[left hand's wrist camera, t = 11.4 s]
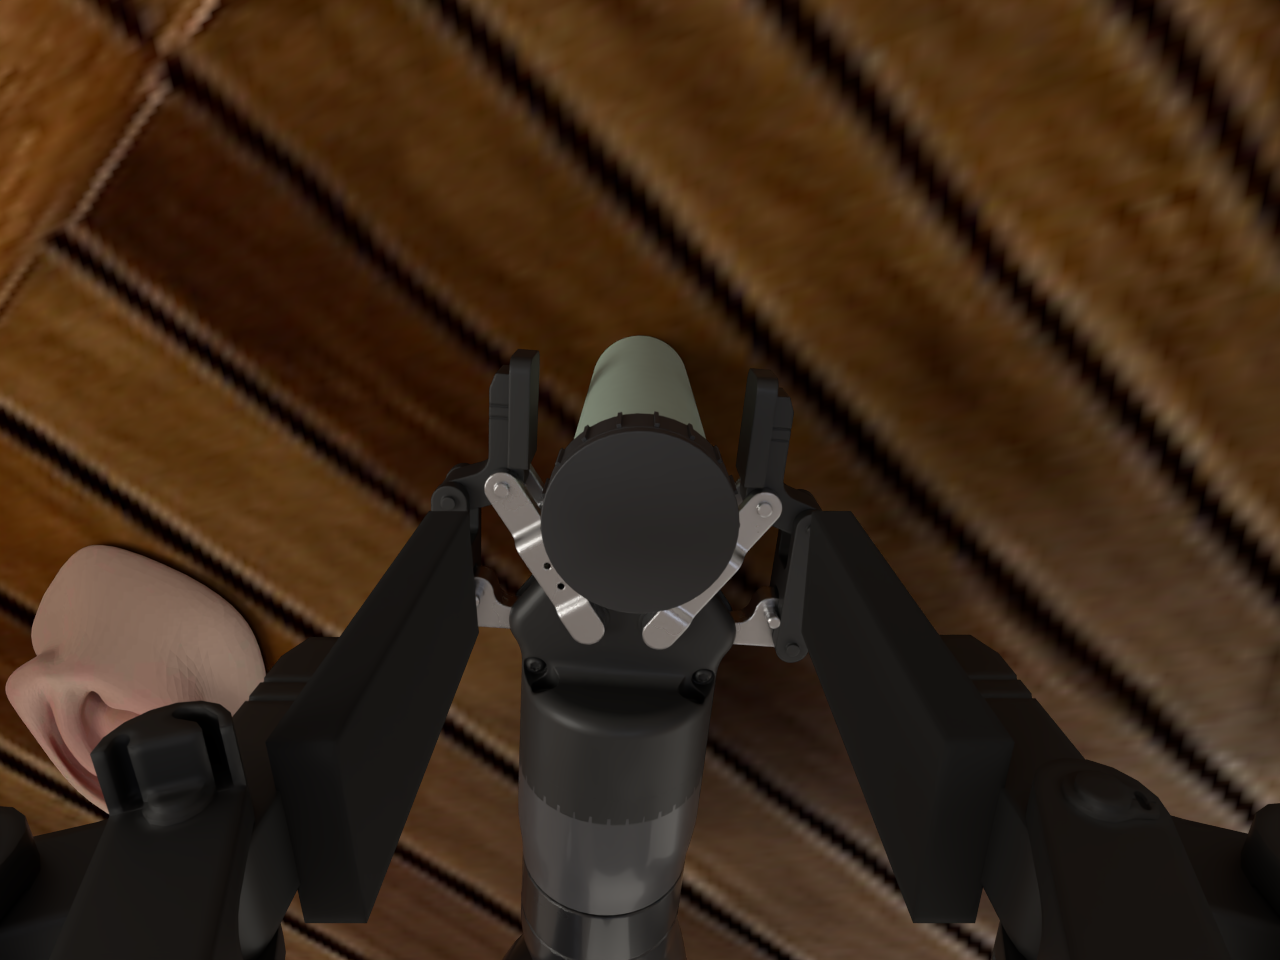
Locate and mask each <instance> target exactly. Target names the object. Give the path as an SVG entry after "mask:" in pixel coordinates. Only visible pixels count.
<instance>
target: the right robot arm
mask: <svg viewBox="0 0 1280 960" xmlns="http://www.w3.org/2000/svg"><path fill="white" fill-rule="evenodd" d="M538 392H539V351H538V350H525V349H518V350H517V351H516V352H515V353H514V354H513V355H512V357H511V360H510V365H503V366H502V367H501V368H500V369H499V370H498V371H497V373H496V374H495V376H494V379H493V381H492V383H491V386H490V388H489V404H490V406H489V416H490V417H489V458H488V459H487V460H485V461H482V462H479V463H475V464H468V463H460V464H457V465H455V466H454V467H453V468H452V469H451V470H450V471H449V473H448V474H447V477H446V479H445V480H444V482H443V483H442V484H441V485H440V486H438V488H437V489H436V490H435V492H434V493H433V495H432V498H431V511H468V516H469V527H470V538H471V550H472V561H473V572H474V584H475V595H476V606H477V617H478V626H481V627H496V628H510V629H511V632H512V633H513V635H514V637H515V638H516V640H517V642H518V644H519V646H520V649H521V653H522V682H521V717H520V753H519V791H518V807H519V820H520V827H521V833H522V840H523V864H522V892H521V919H522V927H523V935H521V936H520V937H519V938H518V939H517V940H516V941H515V943H514V944H513V945H512V946H511V947H510V949H509V950H508V952H507V953H506V955H505V956H504V958H503V960H687V958H686V954H685V948H684V943H683V938H682V933H681V929H680V926H679V922H678V919H677V913H678V907H679V900H680V893H681V885H682V878H683V870H684V863H685V857H686V852H687V850H688V847H689V844H690V841H691V837H692V834H693V830H694V827H695V823H696V817H697V811H698V804H699V797H700V790H701V783H702V775H703V768H704V761H705V753H706V745H707V738H708V731H709V724H710V717H711V709H712V702H713V695H714V688H715V681H716V674H717V669H718V666H719V664H720V662H721V660H722V658H723V657H724V655H725V654H726V653H727V652H728V651H729V650H730V648H731V647H732V645H733V644H742V645H756V646H770V647H775V650H776V653H777V655H778V657H779V658H780V659H781V660H783V661H785V662H790V663H792V662H797V661H800V660H802V659H803V658H804V657H805V656H806V655H807V653H808V649H807V646H806V644H805V641H804V638H803V636H802V633H801V629H802V617H803V606H804V595H805V584H806V572H807V561H808V550H809V538H810V527H811V516H812V511H822V510H821V508H820V506H819V505H818V503H817V501H816V500H815V498H814V497H813V495H812V494H811V493H810V492H809V491H807V490H803V489H797V490H796V489H794V488H792V487H790V486H787V485H785V484H784V483H783V478H784V472H785V465H786V459H787V452H788V446H789V440H790V433H791V427H792V421H793V414H794V412H793V408H792V403H791V399H790V397H789V396H788V394H787V393H786V392H785V391H784V390H783V388H778V378H777V377H776V376H775V375H774V373H773V372H772V371H771V370H764V369H750V370H749V373H748V378H747V385H746V393H745V400H744V408H743V415H742V423H741V430H740V438H739V446H738V453H737V461H736V468H737V470H738V473H739V476H740V477H739V479H738V480H737V481H736V482H735V485H736V488H737V491H738V494H736V495H735V496H736V499H737V504H738V509H739V521H740V528H739V536H738V540H737V544H736V548H735V550H734V553H733V556H732V558H731V560H730V562H729V564H728V565H727V567H726V569H725V570H724V572H723V573H722V574H721V576H720V577H719V578H718V579H717V580H716V581H715V582H714V583H713V584H712V585H711V587H710V588H708V589H707V590H706V591H704V592H703V593H702V594H701V595H699V596H698V597H696V598H694V599H693V600H691V601H689V602H687V603H685V604H683V605H681V606H678V607H675V608H672V609H669V610H665V611H660V612H655V613H643V614H641V613H626V612H619V611H615V610H611V609H608V608H605V607H602V606H600V605H597V604H595V603H593V602H591V601H589V600H587V599H585V598H584V597H582V596H581V595H580V594H578V593H577V592H575V591H574V590H573V589H572V588H571V587H570V586H569V585H567V584H566V583H565V582H564V580H563V579H562V578H561V577H560V576H559V574H558V573H557V572H556V570H555V569H554V567H553V565H552V564H551V562H550V560H549V558H548V556H547V553H546V551H545V548H544V544H543V541H542V535H541V530H540V526H541V522H540V516H541V509H542V503H543V500H544V498H542V497H541V495H542V491H543V489H544V486H545V485H544V483H543V482H542V480H541V479H540V477H539V476H538V474H537V472H536V471H535V469H534V468H533V466H532V465H531V462H532V459H533V457H534V455H535V452H536V450H537V423H538ZM488 505H493V507H494V508H495V510H496V511H497V513H498V514H499V516H500V517H501V519H502V520H503V522H504V523H505V525H506V526H507V527H508V529H509V530H510V532H511V533H512V535H513V537H514V541H515V546H516V549H517V551H518V553H519V555H520V556H521V558H522V559H523V561H524V562H525V564H526V565H527V567H528V568H529V569H530V571H531V572H532V575H531V577H530V578H529V579H528V580H527V581H526V582H525V583H524V584H523V585H522V587H521V588H520V589H519V590H518V592H517V593H516V595H510V594H508V593H506V592H504V591H503V590H502V589H501V588H500V586H499V583H498V578H497V575H496V573H495V572H494V571H493V570H492V569H491V568H490V567H488V566H481V507H484V506H488ZM771 526H774V527H776V528H778V529H779V532H778V538H777V544H776V551H775V557H774V563H773V569H772V575H771V582H770V587H767V586H762V587H760V588H759V589H758V590H757V591H756V592H755V593H754V594H753V596H752V599H751V602H750V603H749V605H748V606H747V607H745V608H744V609H742V610H738V611H732V608H731V606H730V604H729V602H728V601H727V599H726V598H725V596H724V595H723V593H722V591H721V590H720V589H721V588H722V587H723V586H724V584H725V583H726V582H727V581H728V580H729V579H730V578H731V577H732V576H733V575H734V574H735V573H736V572H737V571H738V569H739V568H740V566H741V565H742V563H743V560H744V557H745V555H746V553H747V551H748V550H749V549H750V548H751V547H752V546H753V545H754V544H755V543H756V542H757V541H758V540H759V538H760V537H761V536H762V535H763V534H764V533H765V532H766V531H767V530H768V529H769V528H770V527H771Z"/></svg>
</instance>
